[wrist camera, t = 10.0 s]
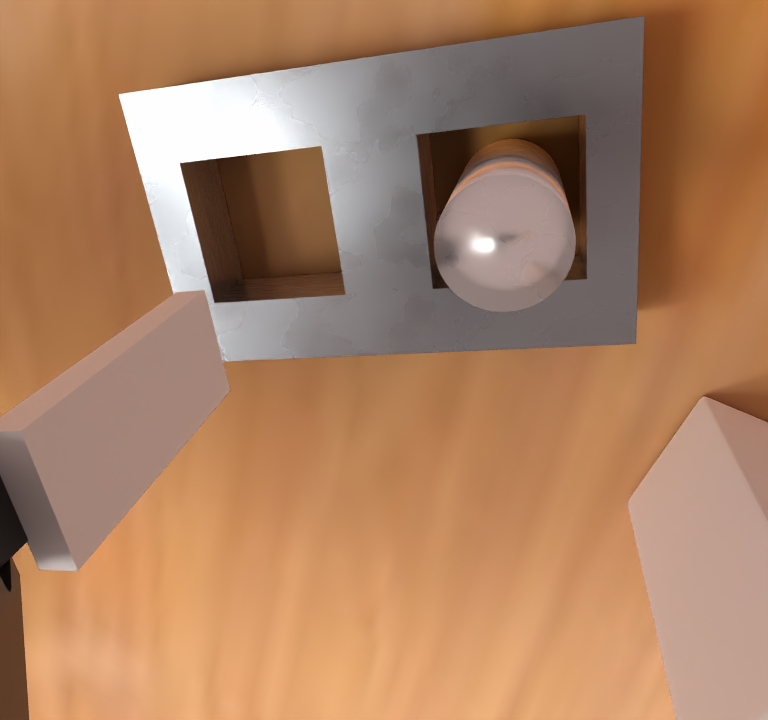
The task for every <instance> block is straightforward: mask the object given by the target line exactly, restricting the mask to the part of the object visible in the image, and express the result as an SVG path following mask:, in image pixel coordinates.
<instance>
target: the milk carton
mask: <svg viewBox="0 0 768 720" xmlns="http://www.w3.org/2000/svg"><path fill="white" fill-rule="evenodd" d="M628 509H629V513H630V518H631V522H632V526H633V531H634V535H635V540H636V544H637V549H638V553H639V558H640V562H641V566H642V571H643V575H644V580H645V584H646V589H647V593H648V598H649V602H650V606H651V611H652V615H653V620H654V624H655V629H656V633H657V638H658V642H659V646H660V651H661V655H662V660H663V664H664V669H665V673H666V678H667V682H668V686H669V691H670V695H671V700H672V704H673V709H674V713H675V718H676V720H768V422H766V421H763V420H761V419H758V418H756V417H754V416H751V415H749V414H746V413H744V412H742V411H739V410H737V409H735V408H732V407H730V406H727V405H725V404H723V403H720V402H718V401H715V400H713V399H711V398H708V397H705V396H704V397H702V398H701V399H700V400H699V401H698V403H697V404H696V405H695V407H694V408H693V409H692V411H691V412H690V414H689V415H688V416H687V418H686V419H685V421H684V422H683V424H682V425H681V426H680V428H679V429H678V431H677V432H676V433H675V435H674V436H673V438H672V439H671V440H670V442H669V443H668V445H667V446H666V448H665V449H664V450H663V452H662V453H661V455H660V456H659V457H658V459H657V460H656V462H655V463H654V465H653V466H652V467H651V469H650V470H649V472H648V473H647V474H646V476H645V477H644V479H643V480H642V482H641V483H640V484H639V486H638V487H637V489H636V490H635V491H634V493H633V494H632V496H631V497H630V499H629V501H628Z"/></svg>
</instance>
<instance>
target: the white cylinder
mask: <svg viewBox="0 0 768 720" xmlns="http://www.w3.org/2000/svg"><path fill="white" fill-rule="evenodd" d="M575 248H576V236H575V229H574V224H573V221H572V217H571V213H570V210H569V206H568V202H567V199H566V195H565V191H564V188H563V184H562V180H561V177H560V173H559V170H558V168H557V166H556V164H555V162H554V160H553V159H552V158H551V156H550V155H549V154H548V153H547V152H546V151H545V150H543V149H542V148H541V147H539V146H538V145H536V144H534V143H531V142H529V141H525V140H521V139H504V140H499V141H496V142H493V143H491V144H489V145H487V146H485V147H484V148H482V149H481V150H480V151H478V152H477V153H476V154H475V155H474V156H473V157H472V158H471V160H470V161H469V162H468V164H467V165H466V167H465V169H464V171H463V173H462V175H461V177H460V179H459V181H458V183H457V185H456V187H455V189H454V190H453V192H452V194H451V196H450V198H449V200H448V202H447V204H446V206H445V208H444V210H443V212H442V214H441V216H440V218H439V221H438V223H437V227H436V231H435V236H434V254H435V260H436V263H437V267H438V269H439V272H440V274H441V276H442V278H443V279H444V281H445V282H446V284H447V285H448V286H449V287H450V289H451V290H452V291H453V292H454V293H455V294H456V295H457V296H459V297H460V298H461V299H463V300H464V301H466V302H468V303H469V304H471V305H473V306H476V307H478V308H481V309H485V310H489V311H496V312H510V311H517V310H522V309H525V308H528V307H531V306H533V305H535V304H537V303H539V302H541V301H543V300H544V299H545V298H547V297H548V296H550V295H551V294H552V293H553V292H554V291H555V290H556V289H557V288H558V287H559V286H560V285H561V283H562V282H563V280H564V279H565V278H566V276H567V274H568V272H569V270H570V268H571V265H572V262H573V259H574V255H575Z"/></svg>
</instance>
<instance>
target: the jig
mask: <svg viewBox="0 0 768 720" xmlns="http://www.w3.org/2000/svg"><path fill="white" fill-rule="evenodd" d="M643 52H644V16H641V17H634V18H627V19H620V20H614V21H607V22H600V23H594V24H587V25H580V26H574V27H567V28H560V29H553V30H547V31H540V32H533V33H527V34H520V35H513V36H507V37H500V38H493V39H487V40H480V41H473V42H466V43H460V44H453V45H446V46H440V47H433V48H426V49H420V50H413V51H406V52H399V53H393V54H386V55H379V56H373V57H366V58H359V59H353V60H346V61H339V62H333V63H326V64H319V65H312V66H306V67H299V68H292V69H286V70H279V71H272V72H266V73H259V74H252V75H245V76H239V77H232V78H225V79H219V80H212V81H205V82H199V83H192V84H185V85H179V86H172V87H165V88H158V89H152V90H145V91H138V92H132V93H125V94H119V97H120V101H121V105H122V108H123V112H124V116H125V119H126V123H127V127H128V130H129V134H130V137H131V141H132V145H133V148H134V152H135V156H136V159H137V163H138V167H139V170H140V174H141V178H142V181H143V185H144V188H145V192H146V196H147V199H148V203H149V207H150V210H151V214H152V218H153V221H154V225H155V229H156V232H157V236H158V239H159V243H160V247H161V250H162V254H163V258H164V261H165V265H166V269H167V272H168V276H169V280H170V283H171V287H172V290H173V294H174V293H176V292H186V291H200V290H205V293H206V297H207V301H208V305H209V309H210V313H211V317H212V321H213V325H214V328H215V332H216V336H217V340H218V344H219V348H220V352H221V356H222V360H223V361H246V360H269V359H293V358H316V357H339V356H363V355H386V354H409V353H433V352H456V351H479V350H503V349H526V348H550V347H573V346H596V345H620V344H636V327H637V288H638V248H639V209H640V170H641V130H642V91H643ZM577 115H579V166H580V255H574V259H573V262H572V265H571V268H570V270H569V272H568V274H567V276H566V278H565V279H564V280H563V282H562V283H561V285H560V286H559V287H558V288H557V289H556V290H555V291H554V292H553V293H552V294H551V295H550V296H548V297H547V298H545V299H544V300H543V301H541V302H539V303H537V304H535V305H533V306H531V307H528V308H525V309H522V310H517V311H510V312H496V311H489V310H485V309H481V308H478V307H476V306H473V305H471V304H469V303H468V302H466V301H464V300H463V299H461V298H460V297H459V296H457V295H456V294H455V293H454V292H453V291H452V290H451V289H450V287H449V286H448V285H447V284H446V282H445V281H444V279H443V278H442V276H441V274H440V272H439V269H438V267H437V263H436V260H435V254H434V236H435V231H436V227H437V223H438V219H437V209H436V199H435V189H434V178H433V168H432V158H431V148H430V138H429V133H434V132H443V131H451V130H459V129H468V128H476V127H485V126H493V125H501V124H510V123H518V122H526V121H535V120H543V119H551V118H560V117H568V116H577ZM317 146H321V147H322V153H323V159H324V165H325V171H326V177H327V184H328V190H329V196H330V202H331V208H332V214H333V220H334V226H335V233H336V239H337V245H338V251H339V257H340V263H341V269H342V272H336V273H322V274H308V275H295V276H281V277H268V278H254V279H244V278H243V274H242V269H241V265H240V261H239V256H238V252H237V247H236V243H235V239H234V234H233V230H232V225H231V221H230V217H229V212H228V208H227V203H226V199H225V194H224V190H223V186H222V181H221V177H220V172H219V168H218V164H217V158H225V157H234V156H242V155H250V154H259V153H267V152H276V151H284V150H292V149H301V148H309V147H317Z"/></svg>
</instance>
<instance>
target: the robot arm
mask: <svg viewBox="0 0 768 720" xmlns="http://www.w3.org/2000/svg"><path fill="white" fill-rule="evenodd" d="M229 392H230V388H229V384H228V380H227V376H226V372H225V368H224V364H223V360H222V356H221V352H220V348H219V344H218V340H217V336H216V332H215V328H214V325H213V321H212V317H211V313H210V309H209V305H208V301H207V297H206V293H205V290H200V291H186V292H176V293H174V294H173V295H172V296H170V297H169V298H167V299H166V300H165V301H163V302H162V303H160V304H159V305H158V306H156V307H155V308H153V309H152V310H150V311H149V312H148V313H146V314H145V315H143V316H142V317H141V318H139V319H138V320H136V321H135V322H133V323H132V324H131V325H129V326H128V327H126V328H125V329H124V330H122V331H121V332H119V333H118V334H117V335H115V336H114V337H112V338H111V339H109V340H108V341H107V342H105V343H104V344H102V345H101V346H100V347H98V348H97V349H95V350H94V351H93V352H91V353H90V354H88V355H87V356H85V357H84V358H83V359H81V360H80V361H78V362H77V363H76V364H74V365H73V366H71V367H70V368H69V369H67V370H66V371H64V372H63V373H61V374H60V375H59V376H57V377H56V378H54V379H53V380H52V381H50V382H49V383H47V384H46V385H45V386H43V387H42V388H40V389H39V390H37V391H36V392H35V393H33V394H32V395H30V396H29V397H28V398H26V399H25V400H23V401H22V402H21V403H19V404H18V405H16V406H15V407H13V408H12V409H11V410H9V411H8V412H6V413H5V414H4V415H2V416H1V417H0V720H29V710H28V694H27V679H26V663H25V648H24V632H23V616H22V601H21V585H20V574H19V572H18V570H17V568H16V565H15V563H14V561H13V559H12V556H13V555H14V554H15V553H16V552H17V551H18V550H19V549H20V548H21V547H22V546H23V545H24V544H25V543H26V542H27V543H28V545H29V547H30V550H31V552H32V554H33V557H34V559H35V561H36V563H37V566H38V568H39V570H62V571H78V570H79V569H80V568H81V567H82V566H83V564H84V563H85V562H86V561H87V560H88V559H89V557H90V556H91V555H92V554H93V553H94V551H95V550H96V549H97V548H98V547H99V546H100V544H101V543H102V542H103V541H104V540H105V538H106V537H107V536H108V535H109V534H110V533H111V531H112V530H113V529H114V528H115V527H116V525H117V524H118V523H119V522H120V521H121V520H122V518H123V517H124V516H125V515H126V514H127V512H128V511H129V510H130V509H131V508H132V507H133V505H134V504H135V503H136V502H137V501H138V499H139V498H140V497H141V496H142V495H143V493H144V492H145V491H146V490H147V489H148V488H149V486H150V485H151V484H152V483H153V482H154V480H155V479H156V478H157V477H158V476H159V475H160V473H161V472H162V471H163V470H164V469H165V467H166V466H167V465H168V464H169V463H170V462H171V460H172V459H173V458H174V457H175V456H176V454H177V453H178V452H179V451H180V450H181V449H182V447H183V446H184V445H185V444H186V443H187V441H188V440H189V439H190V438H191V437H192V436H193V434H194V433H195V432H196V431H197V430H198V428H199V427H200V426H201V425H202V424H203V423H204V421H205V420H206V419H207V418H208V417H209V415H210V414H211V413H212V412H213V411H214V410H215V408H216V407H217V406H218V405H219V404H220V402H221V401H222V400H223V399H224V398H225V397H226V395H227V394H228V393H229Z"/></svg>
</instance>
